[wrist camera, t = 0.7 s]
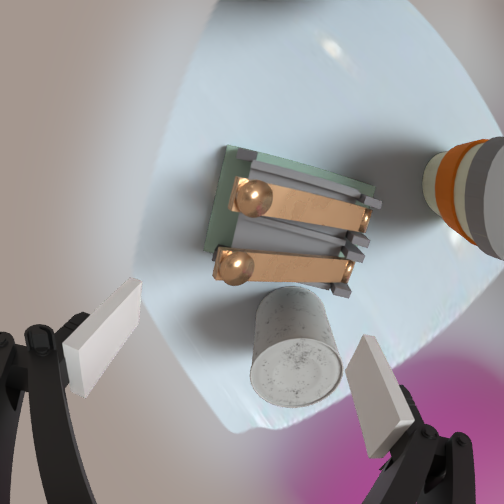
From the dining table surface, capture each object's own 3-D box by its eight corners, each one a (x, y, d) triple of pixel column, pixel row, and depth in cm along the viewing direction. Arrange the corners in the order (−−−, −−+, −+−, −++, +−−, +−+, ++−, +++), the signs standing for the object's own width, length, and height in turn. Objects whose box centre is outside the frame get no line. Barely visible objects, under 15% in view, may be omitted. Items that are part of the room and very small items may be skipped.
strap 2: (217, 243, 24) (225, 251, 22) (349, 255, 31) (360, 261, 30) (210, 275, 24) (217, 285, 23) (341, 279, 32) (351, 286, 31)
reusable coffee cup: (489, 165, 32) (561, 176, 17) (462, 242, 35) (528, 281, 21) (427, 121, 31) (500, 110, 17) (397, 208, 35) (462, 238, 20)
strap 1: (234, 173, 22) (243, 177, 21) (366, 205, 29) (377, 210, 28) (225, 209, 23) (234, 215, 21) (358, 230, 30) (369, 236, 29)
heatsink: (228, 145, 34) (217, 140, 26) (372, 186, 34) (399, 193, 26) (205, 247, 38) (188, 270, 30) (341, 282, 38) (357, 311, 30)
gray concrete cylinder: (339, 312, 39) (362, 368, 28) (293, 357, 42) (298, 418, 30) (287, 271, 38) (294, 320, 26) (241, 322, 41) (230, 380, 29)
